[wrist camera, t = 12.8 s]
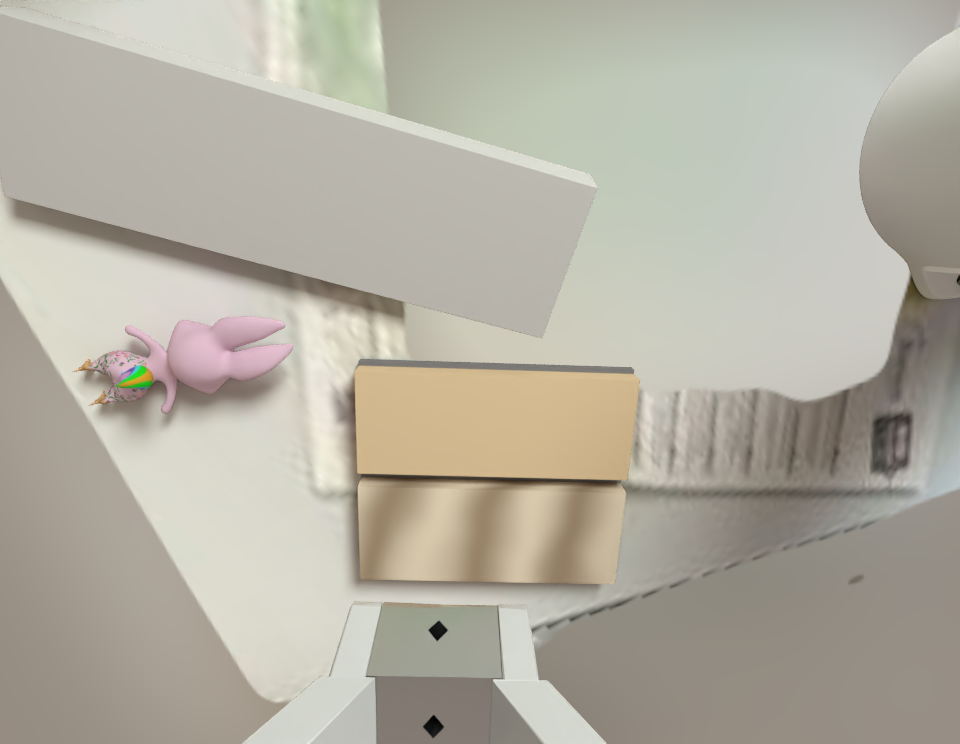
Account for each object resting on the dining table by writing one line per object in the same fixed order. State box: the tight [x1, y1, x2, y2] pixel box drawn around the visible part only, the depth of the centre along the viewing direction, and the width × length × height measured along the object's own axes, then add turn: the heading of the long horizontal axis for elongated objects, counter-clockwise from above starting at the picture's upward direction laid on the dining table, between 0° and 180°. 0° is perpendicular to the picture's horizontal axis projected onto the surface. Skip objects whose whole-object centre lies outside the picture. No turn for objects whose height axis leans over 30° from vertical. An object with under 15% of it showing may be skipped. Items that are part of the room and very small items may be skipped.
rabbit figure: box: [73, 316, 293, 413], centre depth 35 cm, size 6×6×15 cm
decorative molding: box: [0, 6, 598, 338], centre depth 34 cm, size 34×5×10 cm
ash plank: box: [358, 477, 626, 584], centre depth 40 cm, size 19×8×2 cm, turn 88°
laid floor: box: [354, 359, 640, 483], centre depth 40 cm, size 19×17×2 cm
